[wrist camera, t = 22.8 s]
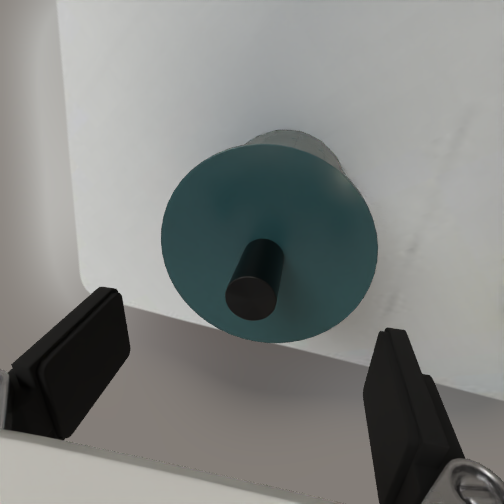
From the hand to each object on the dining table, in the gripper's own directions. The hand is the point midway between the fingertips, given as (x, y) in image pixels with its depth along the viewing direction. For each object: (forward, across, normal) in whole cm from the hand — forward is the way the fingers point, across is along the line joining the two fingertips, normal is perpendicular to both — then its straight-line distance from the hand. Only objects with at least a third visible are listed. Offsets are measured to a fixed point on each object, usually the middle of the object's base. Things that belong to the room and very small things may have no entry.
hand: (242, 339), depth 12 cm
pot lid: (+8, 0, +1) cm, 8 cm away
